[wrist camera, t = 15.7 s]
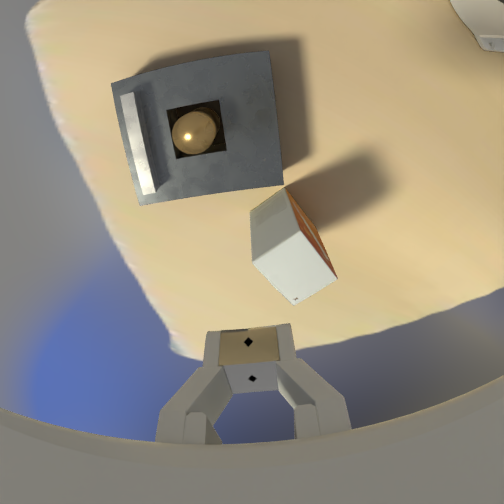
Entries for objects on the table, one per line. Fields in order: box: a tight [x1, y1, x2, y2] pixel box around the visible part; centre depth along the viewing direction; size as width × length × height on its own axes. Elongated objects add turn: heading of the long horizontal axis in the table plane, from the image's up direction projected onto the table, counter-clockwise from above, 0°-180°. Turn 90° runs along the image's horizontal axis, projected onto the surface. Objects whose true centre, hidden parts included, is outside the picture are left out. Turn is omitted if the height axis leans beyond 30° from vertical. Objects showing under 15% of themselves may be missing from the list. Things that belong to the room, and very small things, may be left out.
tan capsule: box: [172, 107, 220, 154], centre depth 32 cm, size 4×4×8 cm
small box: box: [250, 187, 338, 306], centre depth 37 cm, size 8×6×13 cm
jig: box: [111, 51, 284, 206], centre depth 32 cm, size 18×16×7 cm
